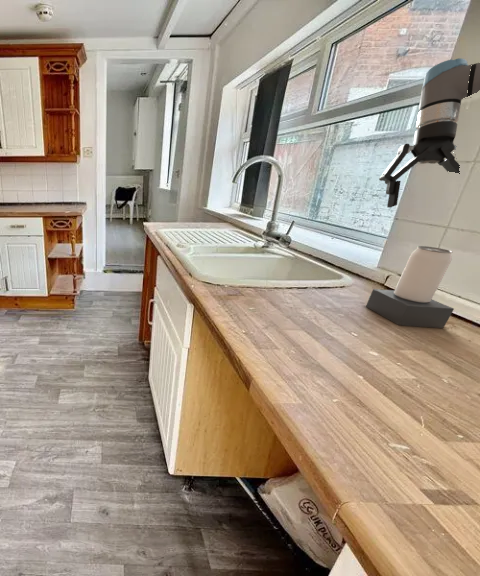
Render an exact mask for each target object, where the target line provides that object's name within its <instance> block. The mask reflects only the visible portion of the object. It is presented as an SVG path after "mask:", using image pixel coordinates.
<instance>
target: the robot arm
mask: <svg viewBox="0 0 480 576" xmlns="http://www.w3.org/2000/svg"><path fill="white" fill-rule="evenodd" d="M471 65H472V66H471ZM470 69H471V71H470ZM469 75H470V76H469ZM468 81H469V83H468ZM422 83H423V84H422V86H421V92H420V99H419V105H418V114H417V121H416V126H415V129H416V130H415V132H414V137H413V145H410V143H405V144H403V145H401V146H400V147H398V149H397V152H396V155H395V157H394V158H393V159H392V160H391V162H390V163H389V165H387V167H386V168H385V169H384V171H383V172H382V174H381V175H380V176H379V178H378V180H379V181H381V182H382V181H383V182H384V184H386V189H385V194H386V195H388V198H387V199H388V200H387V205H386V207H387V208H393V207H396V206H398V201H399V195H400V189H401V183H402V181H401V180H398V179H400V178H401V177H403V175H404V174H406V173H407V172H408V171H409V170H410V169H412V168H413V167H414V166H416V164H418V163H420V164H436V163H437V164H438V165H439V166H442V167H443V168H444V170H445V171H446V172H447V173H448V171H449V172H455V173H459V172H460V171H459V168H460V167H459V166H460V165H459V163H458V161H457V159H456V156H455V155H454V154H452V152H454V151H453V150H456V147H457V146H456V144H454V141H455V139H456V136H457V131H458V130H457V129H458V121H459V119H460V112H461V104H462V100H464V99H463V98H465V97H468V96H470V95H472V94H474V93H477V92H478V91H479V90H480V63H479V62H477V63H476V62H475V63H473V64H472V63H471V64H468V60H467V59H466V58H460V57H459V58H455V59H453V58H451V59H448V60H444V61H441V62H439V63H437V64H435V65H434V66H432V67H431V68H430V69H428V70H427V72H426V73H425V75H424V79H423V82H422ZM467 90H468V93H467ZM465 99H466V98H465ZM409 153H411V154H412V156H413V157H412V158H411V159H409V161H407V162H406V163H405V164H404V165H403V166H402V167H401V168H399V169H398V170H397V171H396V169H397V167H398V166H399V165H400V164H401V162H402V161H403V160H404V158H405V157H406V156H407V155H408V154H409ZM395 171H396V172H395ZM393 173H394V174H393ZM459 174H460V173H459Z"/></svg>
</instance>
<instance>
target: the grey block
mask: <svg viewBox="0 0 480 576" xmlns="http://www.w3.org/2000/svg"><path fill="white" fill-rule="evenodd" d="M394 291H395V289H380V288H373V289H372V291H371V293H370V296H369V298H368V301H367V303H366V305H365V307H366V308H368V309H369V310H371V311H373V312H375V313H376V314H378V315H380V316H382V317H384V318H385V319H387V320H389V321H390V322H392V323H394V324H396V325H398V326H403V327H404V326H406V327H419V328H433V329H434V328H435V329H444V328H445V327H446V324H447V323H448V321H449V319H450V317H451V315H452V314H453V312H454V311H455V308H453V307H451V306H449V305H447V304H444V303H442V302H440V301H437V300H435V299H432V300H431V301H430V302H428V303H418V302H412V301H408V300H405V299H402V298H399V297H397V296H396V295H395V294H394Z"/></svg>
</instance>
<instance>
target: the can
mask: <svg viewBox="0 0 480 576" xmlns="http://www.w3.org/2000/svg"><path fill="white" fill-rule="evenodd" d="M452 253H453V251H452V250H449V249H445V248H440V247H433V246H428V245H427V246H426V245H418V246H416V248H415V250H414V249H413V251H411V253H410V255H409V257H408V259H407V262H406V264H405V266H404V268H403V270H402V273H401V275H400V276H399V277H400V278H399V279H398V281H397V284H396V286H395V287H394V290H395V291H394V294H395V295H396V296H397V297H399V298H402V299H405V300H408V301H412V302H418V303H428V302H430V301H431V300H433V298H434V296H435V294H436V292H437V290H438V288H439V286H440V284H441V282H442V281H443V278H444V276H445V275H446V272H447V270H448V268H449V267H450V264H451V262H452V260H453V259H452Z"/></svg>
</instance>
